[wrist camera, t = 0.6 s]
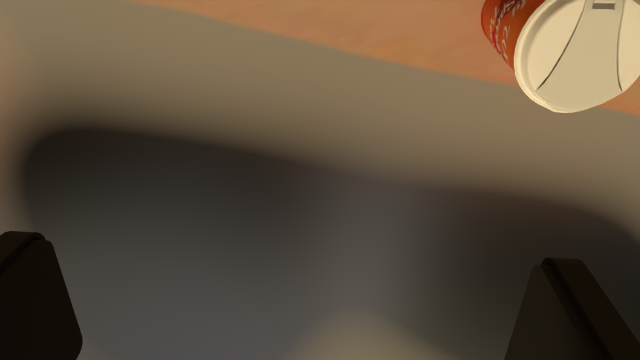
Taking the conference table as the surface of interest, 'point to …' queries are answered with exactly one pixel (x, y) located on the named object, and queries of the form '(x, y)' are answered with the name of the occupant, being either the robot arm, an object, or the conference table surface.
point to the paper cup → (567, 48)
